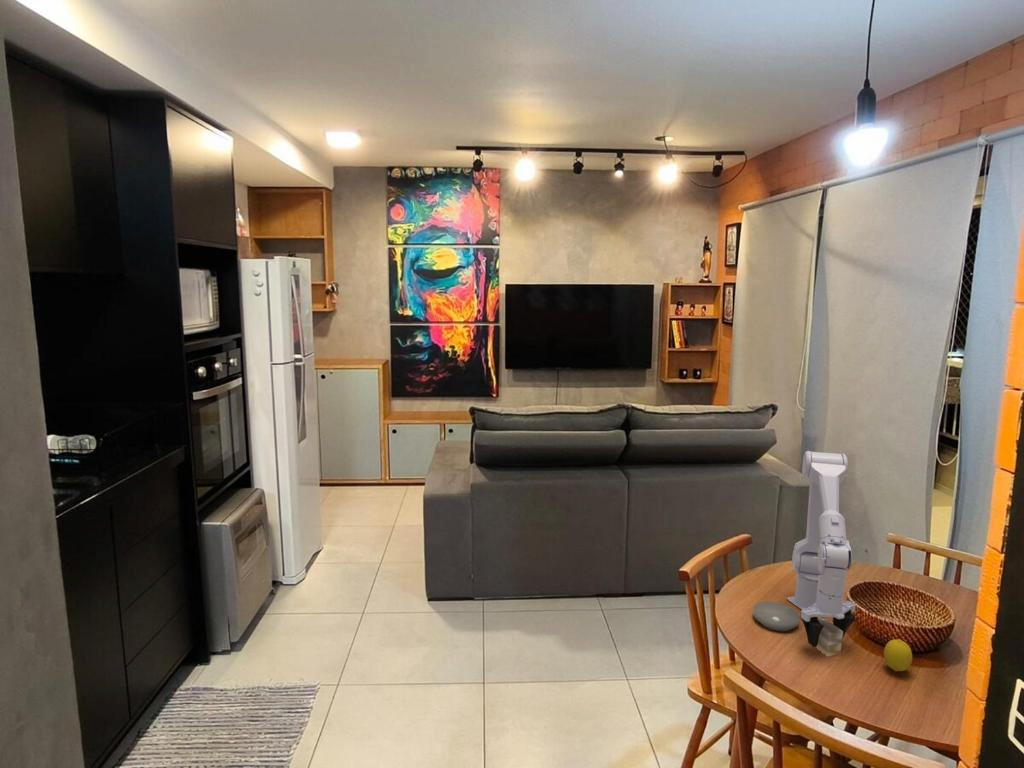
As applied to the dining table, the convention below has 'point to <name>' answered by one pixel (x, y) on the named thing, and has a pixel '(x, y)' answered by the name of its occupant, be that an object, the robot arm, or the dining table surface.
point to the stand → (776, 616)
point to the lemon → (898, 655)
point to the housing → (829, 638)
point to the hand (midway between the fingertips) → (824, 641)
